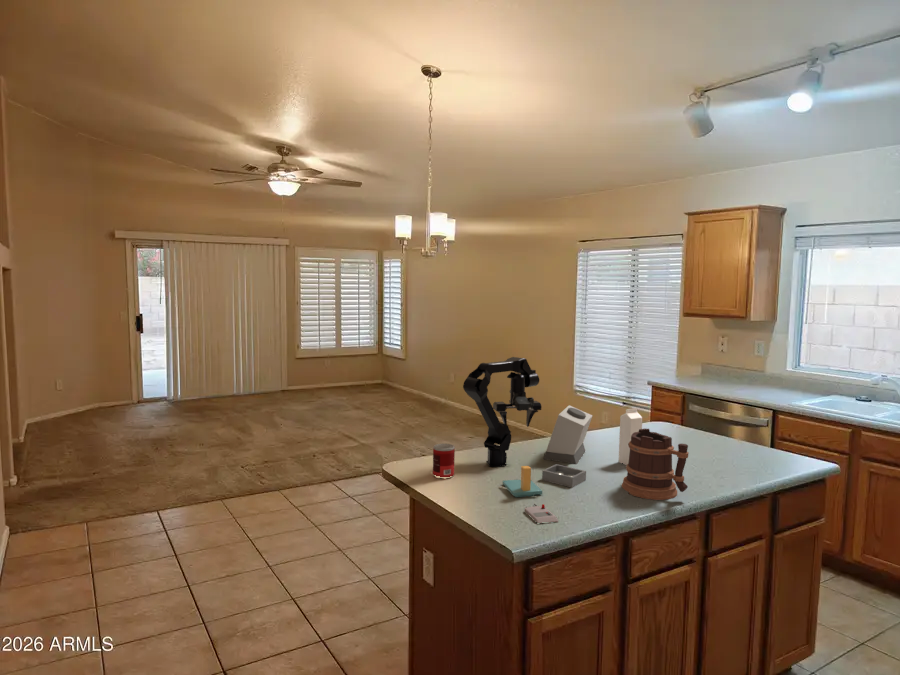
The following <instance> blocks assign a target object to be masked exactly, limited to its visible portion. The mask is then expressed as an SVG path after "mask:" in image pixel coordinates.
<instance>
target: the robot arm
mask: <svg viewBox="0 0 900 675" xmlns="http://www.w3.org/2000/svg"><path fill="white" fill-rule="evenodd" d="M503 372H504V373H505V372H510V373H509V374H508V375H506V378H508V379H510V389H509V394H510V397H509V399H510V400H508V401H509V403H505V402H504V401H494V402H493V404H492V403H491V402H490V399H489V397H488V392H489V390H488V386H489V385H490V383H491V376H492V374H497V373H503ZM483 374H484V376H483V378H480V377H481V376H482V375H483ZM467 375H468V376H467V377H466V378H465V380H464V382H463V384H462V388H463V390H464V392H465V393H466V395H467V396H468V397H470V398H471V399H472V400H473V401H475V404H476V406H477V408H478V410H479V413H481V416H482V417H483V419H484V421H485V423H486V425H487V427H488V428H487V429H488V430H487V437H486V439H485V440H484V442H483V445H484V448H486V449H487V460H485V462H486V464H488V466H489V467H490V468H494V467H495V468H496V467H507V456H508V455H507V452H506V451H509V448H510V445H511V441H512V431H511V430H510V428H509V425H508V422H507V418H508V417H507V414H508V413H507V412H508V411H506V410H507V409H508V410H509V409H516V411H518V412H521V411H526V424H525V425H526V427H527V428H528V427H529V426H530V425H531V424H530V423H531V421H532V418H533V416H535V414H536V413H538V412H539V411H541V410H542V403H541V402H539V401H537V400H534V399H535V398H534V397H531V396H530V397H527V394H526V388H532V387H536V386H537V385H539V384H540V377H539V375H538V373H536V369H532V368H531V366H530V364H529V362H528V360H527V358H524V357H515V356H512V357H508V358H507V359H505V360H502V361H494V362H492V361H491V362H481V363H479V364H478V366H477V367H476V369H474V370H472V371H471V372H469V374H467ZM496 412H497V413H499V415H500V417H501V420H502V422H500V419H499V418H498V416H497V413H496Z"/></svg>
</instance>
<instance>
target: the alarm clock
mask: <svg viewBox="0 0 900 675" xmlns="http://www.w3.org/2000/svg"><path fill="white" fill-rule="evenodd" d="M592 418H593V414H591V413H588V412H585V411H583V410H581V409H579V408H577V407H574V406H572V405H570V404H569V405H568V406H566V408H564V409H563V410H562V411H561V412H560V413H559V414H558V415H557V419H556V421H555V423H554V427H553V430H552V433H551V436H550V439H549V441H548V444H547V448H546V450H545V452H544V456H543V460H547V461H554V462H555V461H556V462H562V463H569V464H573V465H577V464H579V462H580V461H581V460H582V458H583V457H584V455H585V453H586V452H585V451H586V449H585V445H584V441H585V439H586V436H587V432H588V429H589V426H590V425H591V424H590V423H591V421H592ZM583 454H584V455H583ZM581 457H582V458H581ZM579 460H580V461H579Z"/></svg>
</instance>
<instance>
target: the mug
mask: <svg viewBox="0 0 900 675" xmlns="http://www.w3.org/2000/svg"><path fill="white" fill-rule="evenodd" d="M628 446H629V448H630V453H629V463H628V464H627V465H625V470H626V471H627V474H626V476H624V477H623V480H622V483H621V487H622V489H623V490H624V491H626V492H627V493H628V495H630V496H634V497H636V498H641V499H647V500H657V501H659V500H660V501H661V500H670V499H674V498H676V497H677V496H678V490H679V492H681V493H683V492H684V491H686V490H687V489H688V485H687V484H686V483H685V482H684V481H685V476H684V475H683V474H684V473H683V472H684V469H685V466H686V463H687V459H688V458H689V454H690V453H689V451H688V450H689V449H688V448H689V445H688V444H686V443H678V445H677V448H678V450H676V449H675V447H674V446H673V437H671V436H668V435H666V434H662V433H659V432H656V431H655V432H654V431H651V430H650V428H642V429H639V432H634V433H633V434H632V435H631V441H630V442H629V443H628ZM673 455H675V456H676V457H677V460H676V461H677V462H676V466H675V470H674V469H673ZM677 488H678V490H677Z"/></svg>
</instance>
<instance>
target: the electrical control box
mask: <svg viewBox="0 0 900 675" xmlns="http://www.w3.org/2000/svg"><path fill="white" fill-rule="evenodd" d="M525 512H526V513H527V514H528V515H530V516H531V517H532V518H533V519H534V520H535V521H536V522H537V523H542V522H556V523H559V520H558V518H557V516H556V515H555V514H554V513H552V512H551V511H550V510H549V509H548V508H547V507H545V504H541V505H537V504H536V503H533V506H526V507H525V508H524V513H525ZM526 513H525V514H526ZM527 514H526V515H527ZM528 515H527V516H528ZM533 519H532V520H533ZM534 520H533V521H534ZM535 521H534V522H535ZM536 522H535V523H536ZM537 523H536V524H537Z"/></svg>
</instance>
